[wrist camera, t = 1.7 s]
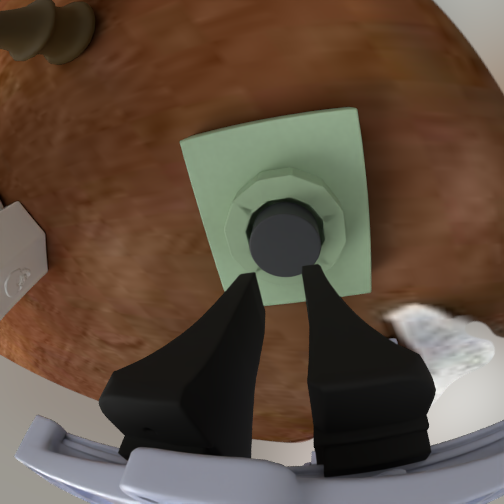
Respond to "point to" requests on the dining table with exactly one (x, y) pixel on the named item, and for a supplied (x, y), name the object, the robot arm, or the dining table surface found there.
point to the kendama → (47, 31)
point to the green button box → (285, 194)
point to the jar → (19, 255)
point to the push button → (285, 239)
